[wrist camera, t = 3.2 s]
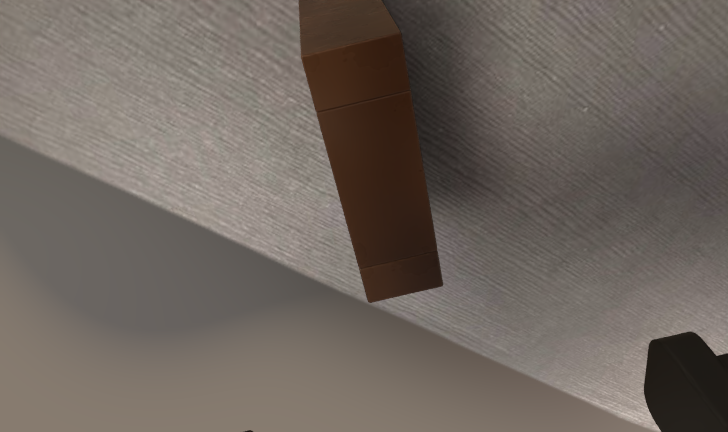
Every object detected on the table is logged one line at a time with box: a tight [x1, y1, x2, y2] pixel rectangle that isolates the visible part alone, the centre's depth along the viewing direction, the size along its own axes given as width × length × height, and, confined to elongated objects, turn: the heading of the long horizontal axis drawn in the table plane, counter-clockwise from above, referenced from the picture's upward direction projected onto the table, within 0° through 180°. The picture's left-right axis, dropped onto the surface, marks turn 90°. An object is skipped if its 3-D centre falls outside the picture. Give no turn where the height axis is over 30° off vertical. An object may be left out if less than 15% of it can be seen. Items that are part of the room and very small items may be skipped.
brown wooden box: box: [299, 0, 443, 303], centre depth 23 cm, size 3×10×9 cm, turn 12°
